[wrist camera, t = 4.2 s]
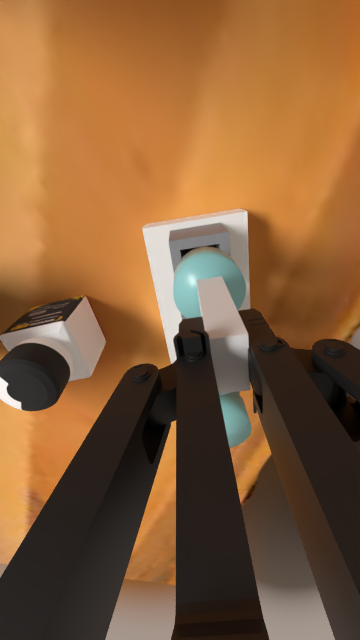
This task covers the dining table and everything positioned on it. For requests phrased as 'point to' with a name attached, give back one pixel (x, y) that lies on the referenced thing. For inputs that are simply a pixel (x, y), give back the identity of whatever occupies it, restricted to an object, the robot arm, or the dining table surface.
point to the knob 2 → (235, 418)
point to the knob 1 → (201, 267)
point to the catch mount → (180, 238)
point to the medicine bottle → (49, 352)
